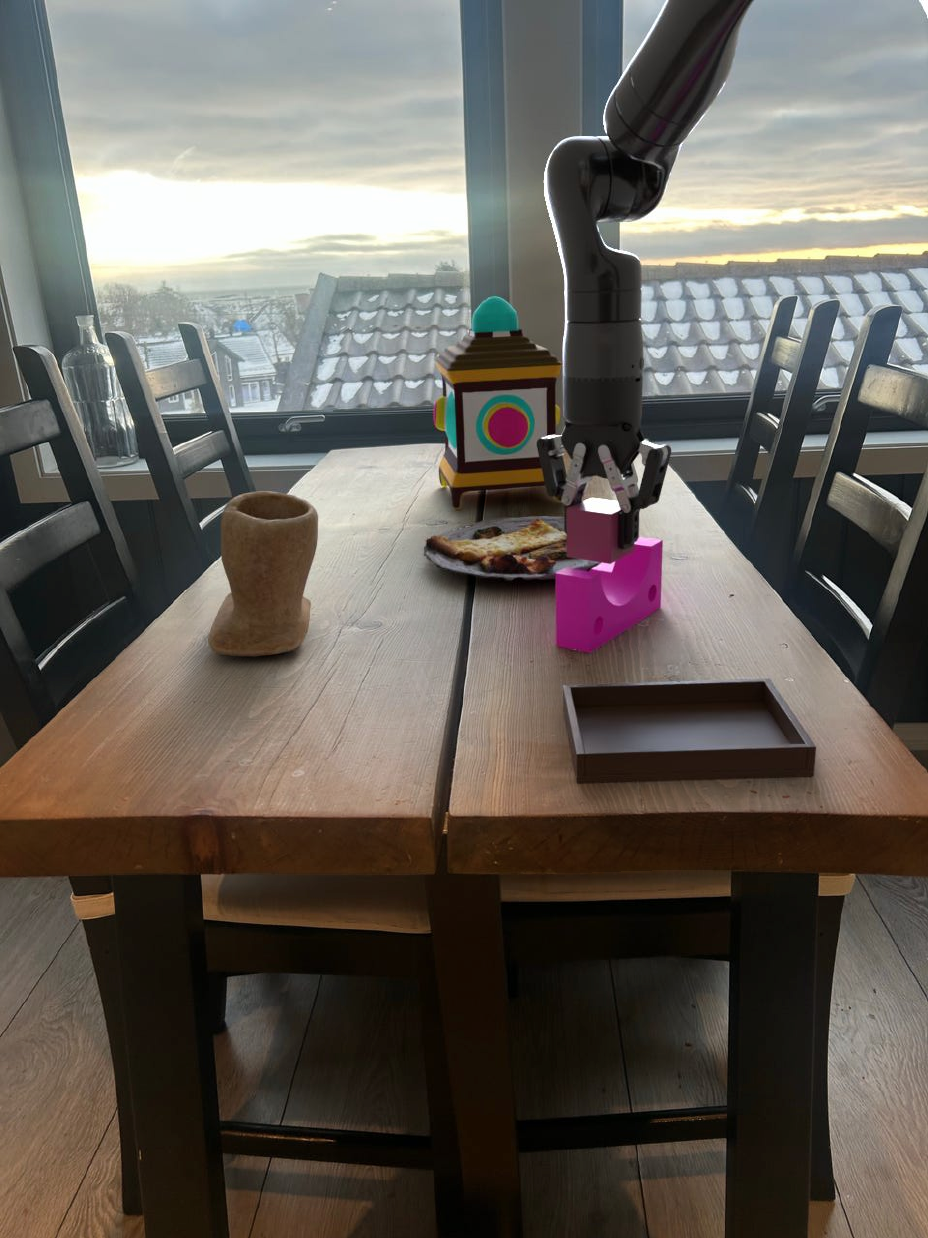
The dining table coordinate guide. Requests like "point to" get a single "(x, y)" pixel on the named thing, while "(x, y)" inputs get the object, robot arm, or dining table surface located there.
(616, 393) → the robot arm
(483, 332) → the decorative lantern
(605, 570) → the toy block
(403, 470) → the dining table surface
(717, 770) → the tray
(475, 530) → the food plate
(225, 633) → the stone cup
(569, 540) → the cube
